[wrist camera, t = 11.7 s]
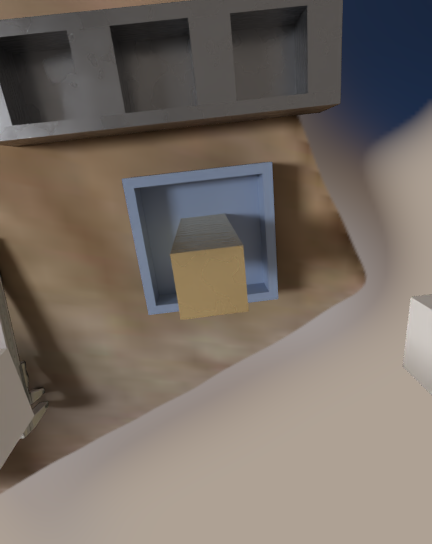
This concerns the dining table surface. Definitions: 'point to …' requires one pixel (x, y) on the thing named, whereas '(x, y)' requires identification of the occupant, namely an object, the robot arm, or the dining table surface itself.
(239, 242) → the brass peg
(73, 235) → the dining table surface
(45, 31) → the socket rail
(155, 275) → the tray
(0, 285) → the caliper
